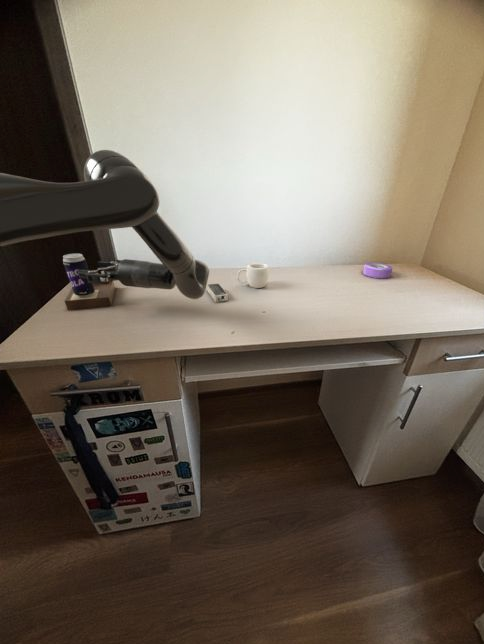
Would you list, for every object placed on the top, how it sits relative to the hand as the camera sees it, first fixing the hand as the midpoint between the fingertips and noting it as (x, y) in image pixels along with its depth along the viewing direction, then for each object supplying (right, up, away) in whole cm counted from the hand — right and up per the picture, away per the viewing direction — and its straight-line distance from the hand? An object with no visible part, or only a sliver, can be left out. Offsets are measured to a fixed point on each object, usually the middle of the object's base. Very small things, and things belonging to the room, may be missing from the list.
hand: (89, 269), depth 83 cm
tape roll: (+102, +10, +43) cm, 111 cm away
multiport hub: (+35, -5, +16) cm, 39 cm away
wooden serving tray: (-5, -7, +11) cm, 14 cm away
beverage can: (-4, -7, +5) cm, 10 cm away
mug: (+47, +1, +26) cm, 54 cm away
